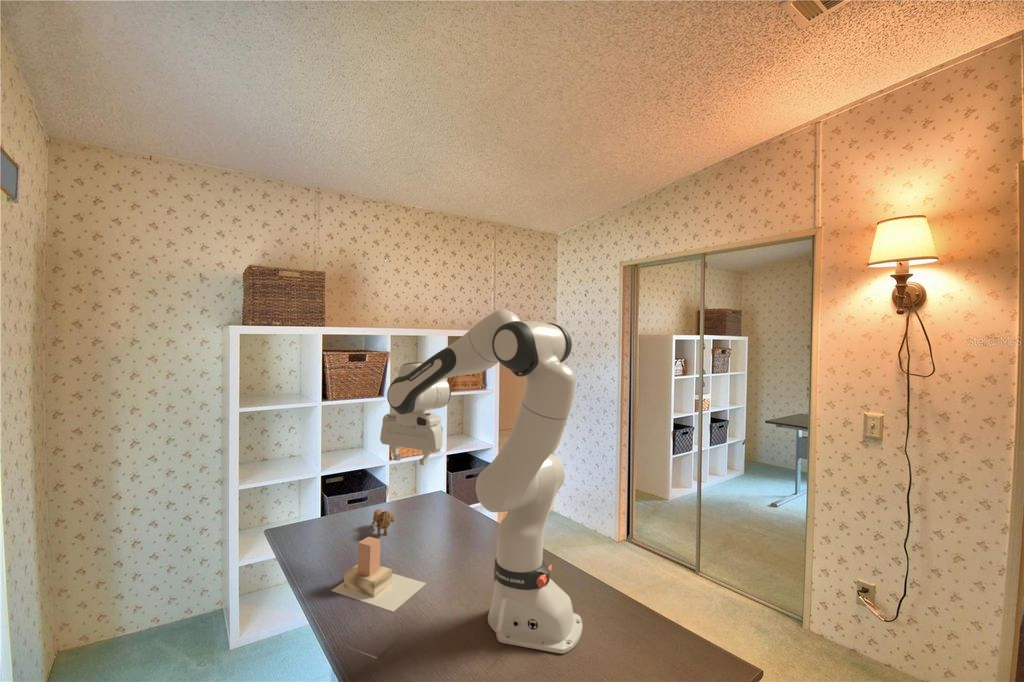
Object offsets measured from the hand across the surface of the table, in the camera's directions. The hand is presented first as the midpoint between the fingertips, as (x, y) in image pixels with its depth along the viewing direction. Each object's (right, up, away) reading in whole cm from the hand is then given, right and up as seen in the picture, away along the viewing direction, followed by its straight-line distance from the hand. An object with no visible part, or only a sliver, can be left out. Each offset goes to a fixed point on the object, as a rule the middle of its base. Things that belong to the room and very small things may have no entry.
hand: (409, 462), depth 137 cm
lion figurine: (-13, -29, +18) cm, 36 cm away
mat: (-5, -29, -15) cm, 33 cm away
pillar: (-8, -25, -15) cm, 30 cm away
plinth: (-8, -29, -15) cm, 33 cm away
